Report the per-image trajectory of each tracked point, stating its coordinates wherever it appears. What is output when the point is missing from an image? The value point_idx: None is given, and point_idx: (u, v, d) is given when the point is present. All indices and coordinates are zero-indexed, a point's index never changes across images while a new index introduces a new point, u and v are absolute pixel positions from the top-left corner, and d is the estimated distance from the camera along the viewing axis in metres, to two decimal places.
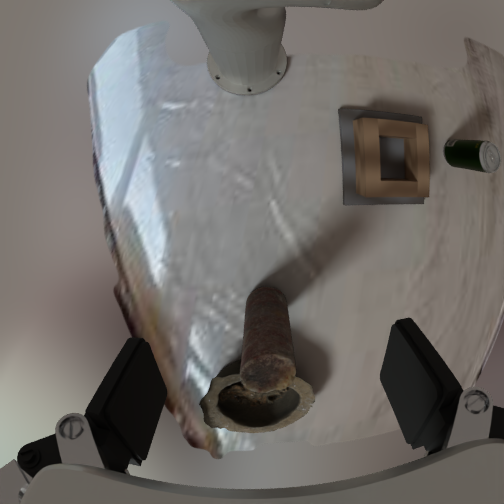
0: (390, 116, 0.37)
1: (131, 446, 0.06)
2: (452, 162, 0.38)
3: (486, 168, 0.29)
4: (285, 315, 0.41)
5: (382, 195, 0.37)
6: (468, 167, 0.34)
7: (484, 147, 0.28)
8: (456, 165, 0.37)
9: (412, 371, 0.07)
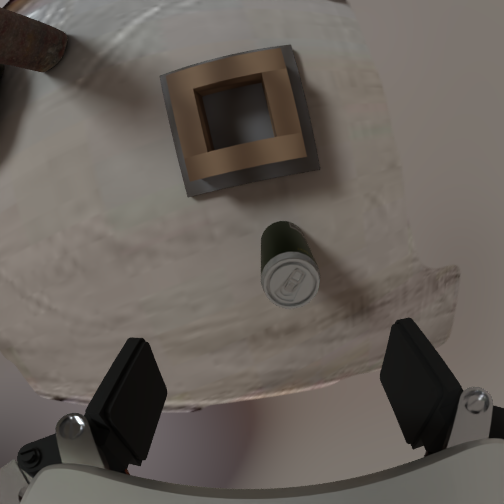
0: (303, 114, 0.28)
1: (131, 446, 0.06)
2: (265, 234, 0.32)
3: (266, 272, 0.24)
4: (29, 48, 0.17)
5: (172, 98, 0.24)
6: (262, 253, 0.28)
7: (302, 259, 0.23)
8: (262, 241, 0.32)
9: (412, 371, 0.07)
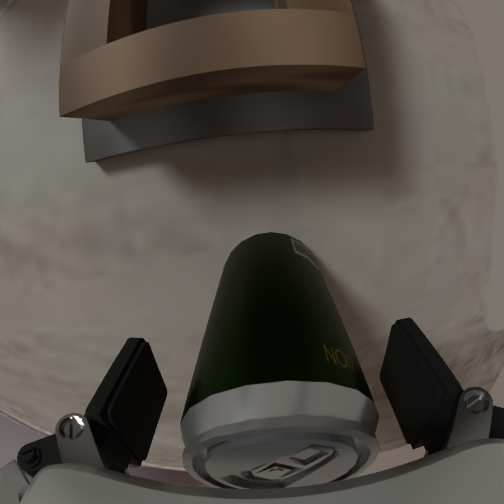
0: None
1: (131, 446, 0.06)
2: (231, 259, 0.13)
3: (192, 435, 0.05)
4: None
5: None
6: (209, 320, 0.10)
7: (344, 419, 0.04)
8: (222, 276, 0.13)
9: (412, 371, 0.07)
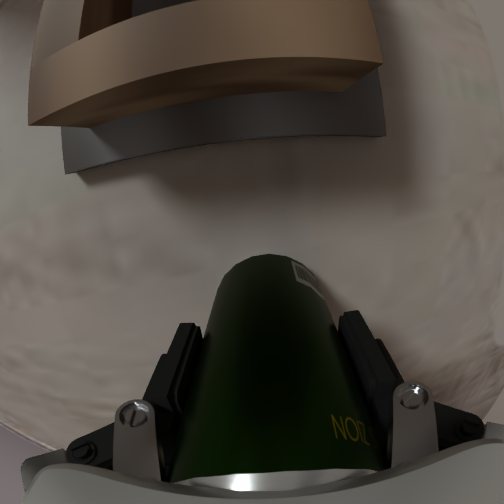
0: None
1: None
2: (224, 286, 0.12)
3: None
4: None
5: None
6: (197, 364, 0.08)
7: None
8: (213, 306, 0.11)
9: (352, 361, 0.08)
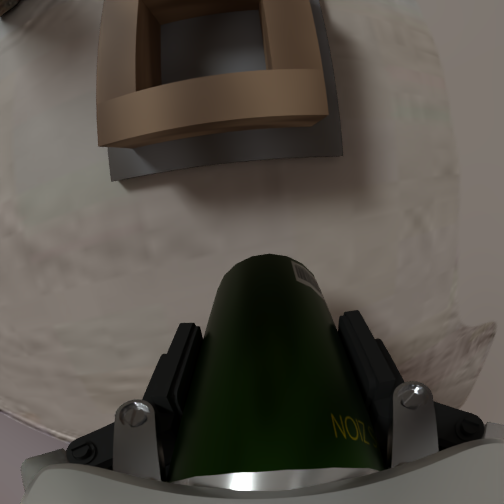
0: (322, 61, 0.14)
1: None
2: (224, 286, 0.12)
3: None
4: None
5: (105, 12, 0.09)
6: (198, 364, 0.08)
7: None
8: (213, 306, 0.11)
9: (353, 361, 0.08)
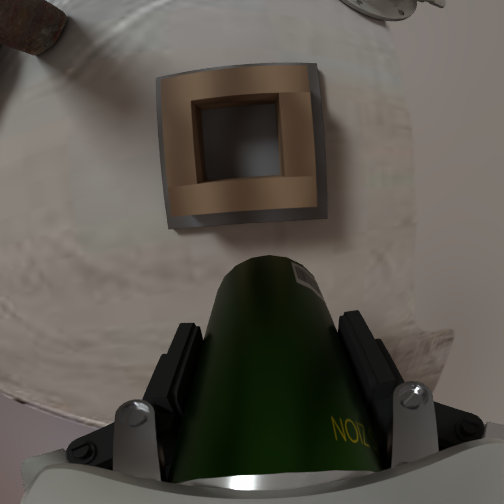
0: (318, 150, 0.24)
1: None
2: (224, 288, 0.12)
3: None
4: (20, 27, 0.12)
5: (164, 108, 0.19)
6: (198, 366, 0.08)
7: None
8: (213, 307, 0.11)
9: (352, 361, 0.08)
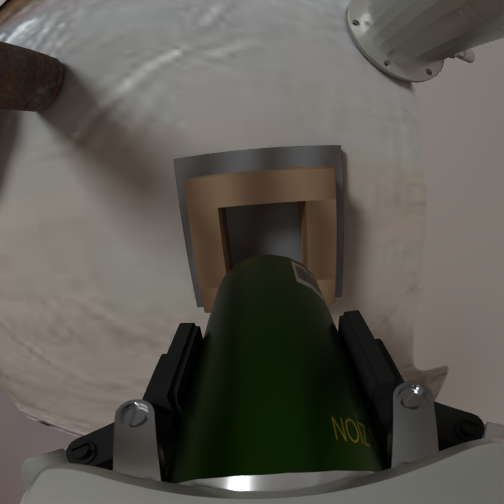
0: (337, 238, 0.27)
1: None
2: (224, 287, 0.12)
3: None
4: (11, 92, 0.15)
5: (190, 214, 0.22)
6: (197, 365, 0.08)
7: None
8: (213, 307, 0.11)
9: (352, 361, 0.08)
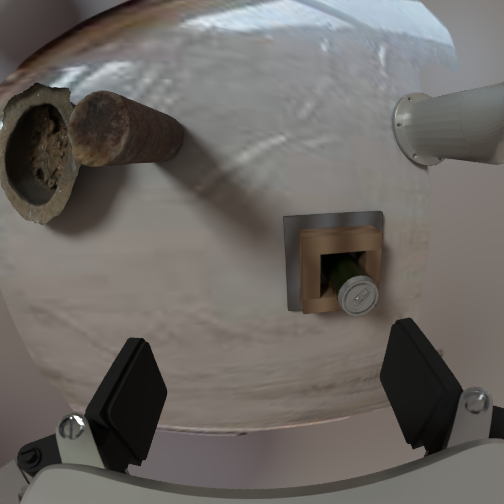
0: None
1: (131, 446, 0.06)
2: (328, 257, 0.40)
3: (345, 289, 0.31)
4: (158, 154, 0.30)
5: (304, 257, 0.38)
6: (332, 273, 0.36)
7: (370, 281, 0.31)
8: (326, 263, 0.40)
9: (412, 371, 0.07)
